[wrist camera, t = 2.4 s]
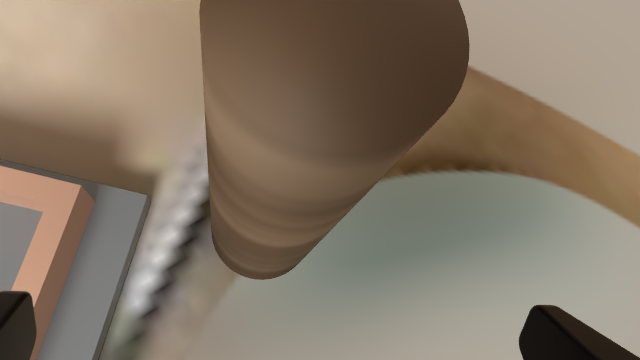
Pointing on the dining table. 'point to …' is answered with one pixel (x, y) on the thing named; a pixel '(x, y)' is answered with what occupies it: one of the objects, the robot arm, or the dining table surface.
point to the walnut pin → (315, 112)
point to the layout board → (67, 254)
